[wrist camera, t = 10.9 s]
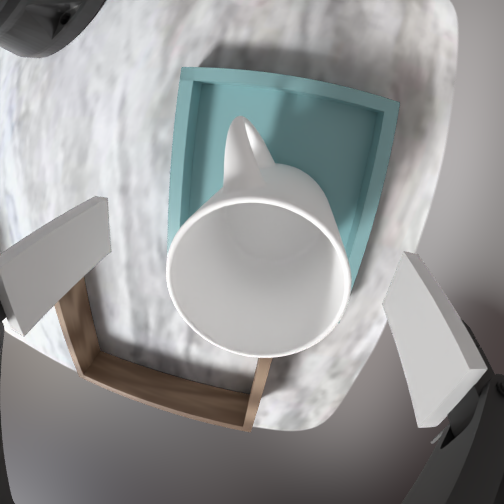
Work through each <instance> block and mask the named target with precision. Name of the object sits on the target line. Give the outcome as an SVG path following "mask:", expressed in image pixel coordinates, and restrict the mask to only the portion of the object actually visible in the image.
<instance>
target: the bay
mask: <svg viewBox="0 0 504 504" xmlns="http://www.w3.org/2000/svg"><path fill="white" fill-rule="evenodd" d="M54 306H55V309H56V313H57V316H58V319H59V322H60V326H61V329H62V332H63V335H64V338H65V341H66V344H67V346H68V349H69V352H70V355H71V357H72V360H73V362H74V365H75V368H76V370H77V373H78V375H79V377H81V378H83V379H85V380H87V381H89V382H91V383H94V384H96V385H98V386H100V387H103V388H105V389H107V390H110V391H112V392H115V393H117V394H120V395H122V396H125V397H127V398H130V399H133V400H135V401H138V402H141V403H144V404H146V405H149V406H152V407H155V408H158V409H162V410H164V411H167V412H171V413H174V414H177V415H181V416H184V417H187V418H191V419H195V420H199V421H202V422H206V423H210V424H214V425H219V426H223V427H227V428H232V429H237V430H242V431H247V432H251V429H252V426H253V423H254V420H255V416H256V413H257V410H258V407H259V403H260V400H261V396H262V393H263V390H264V386H265V383H266V379H267V376H268V372H269V369H270V365H271V362H272V358H258V363H257V367H256V371H255V375H254V380H253V384H252V388H251V392H250V394H245V393H240V392H236V391H231V390H226V389H222V388H218V387H214V386H210V385H206V384H202V383H198V382H194V381H190V380H187V379H183V378H179V377H176V376H173V375H169V374H166V373H163V372H159V371H156V370H153V369H150V368H147V367H144V366H141V365H138V364H135V363H132V362H129V361H127V360H124V359H121V358H118V357H116V356H113V355H110V354H108V353H105V352H103V351H101V350H100V346H99V342H98V339H97V335H96V331H95V327H94V322H93V318H92V314H91V309H90V305H89V300H88V295H87V289H86V284H85V278H84V277H83V278H82V279H81V280H80V281H78V282H77V283H76V284H75V285H74V286H73V287H72V288H71V289H70V290H69V291H68V292H67V293H66V294H65V295H64V296H63V297H62V298H61V299H60V300H59V301H58V302H57V303H56V304H55V305H54Z"/></svg>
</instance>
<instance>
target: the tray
mask: <svg viewBox="0 0 504 504" xmlns="http://www.w3.org/2000/svg"><path fill="white" fill-rule="evenodd" d="M399 106H400V102H397V101H394V100H391V99H388V98H385V97H381V96H378V95H375V94H371V93H368V92H364V91H360V90H357V89H353V88H349V87H345V86H340V85H336V84H332V83H327V82H322V81H318V80H312V79H307V78H302V77H296V76H290V75H283V74H276V73H268V72H260V71H250V70H240V69H226V68H205V67H182V68H181V75H180V82H179V90H178V97H177V105H176V114H175V123H174V133H173V144H172V157H171V170H170V187H169V208H168V246H167V255H168V252H169V248H170V245H171V243H172V241H173V239H174V237H175V235H176V233H177V232H178V230H179V229H180V227H181V226H182V225H183V224H184V223H185V222H186V221H187V220H188V218H189V217H191V216H192V215H193V214H194V213H195V212H196V211H197V210H198V209H199V208H200V207H201V206H202V205H203V204H205V203H206V202H207V201H208V200H209V199H210V198H211V197H212V196H213V195H214V194H215V193H217V192H218V191H219V190H220V189H221V188H222V187H223V178H224V157H225V146H226V139H227V134H228V130H229V127H230V125H231V123H232V121H233V120H234V119H235V118H236V117H237V116H243V117H245V118H247V119H248V120H249V121H250V122H251V123H252V124H253V125H254V127H255V128H256V129H257V131H258V132H259V134H260V135H261V137H262V139H263V140H264V142H265V144H266V146H267V148H268V150H269V152H270V154H271V156H272V158H273V160H274V162H275V163H279V164H285V165H289V166H292V167H295V168H297V169H300V170H302V171H303V172H305V173H306V174H308V175H309V176H310V177H311V178H313V179H314V180H315V181H316V182H317V184H318V185H319V186H320V187H321V189H322V190H323V192H324V194H325V196H326V198H327V200H328V202H329V205H330V207H331V210H332V213H333V216H334V219H335V222H336V224H337V227H338V230H339V233H340V236H341V239H342V242H343V245H344V248H345V251H346V255H347V258H348V261H349V265H350V269H351V278H352V283H351V290H352V287H353V285H354V282H355V279H356V276H357V273H358V270H359V267H360V264H361V261H362V258H363V255H364V252H365V249H366V245H367V242H368V239H369V235H370V232H371V229H372V225H373V222H374V218H375V215H376V211H377V207H378V204H379V200H380V196H381V192H382V188H383V184H384V180H385V176H386V172H387V167H388V163H389V159H390V154H391V149H392V144H393V139H394V134H395V129H396V124H397V118H398V112H399ZM339 322H340V321H339Z"/></svg>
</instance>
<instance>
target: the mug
mask: <svg viewBox="0 0 504 504" xmlns="http://www.w3.org/2000/svg"><path fill="white" fill-rule="evenodd" d="M166 279H167V285H168V289H169V293H170V296H171V299H172V301H173V303H174V305H175V307H176V309H177V310H178V312H179V314H180V315H181V316H182V318H183V319H184V320H185V322H186V323H187V324H188V325H189V326H190V327H191V328H192V329H193V330H194V331H195V332H196V333H198V334H199V335H200V336H201V337H203V338H204V339H206V340H207V341H209V342H210V343H212V344H214V345H216V346H218V347H219V348H222V349H224V350H227V351H229V352H232V353H236V354H239V355H244V356H249V357H258V358H273V357H282V356H287V355H291V354H294V353H298V352H301V351H303V350H305V349H307V348H310V347H311V346H313V345H315V344H316V343H318V342H319V341H321V340H322V339H323V338H325V337H326V336H327V335H328V334H329V333H330V332H331V331H332V330H333V329H334V328H335V327H336V325H337V324H338V323H339V321H340V320H341V318H342V316H343V314H344V312H345V310H346V308H347V305H348V302H349V298H350V294H351V283H352V278H351V269H350V265H349V261H348V258H347V255H346V251H345V248H344V245H343V242H342V239H341V236H340V233H339V230H338V227H337V224H336V222H335V219H334V216H333V213H332V210H331V207H330V205H329V202H328V200H327V198H326V196H325V194H324V192H323V190H322V189H321V187H320V186H319V185H318V184H317V182H316V181H315V180H314V179H313V178H311V177H310V176H309V175H308V174H306V173H305V172H303V171H302V170H300V169H297V168H295V167H292V166H289V165H285V164H279V163H275V162H274V160H273V158H272V156H271V154H270V152H269V150H268V148H267V146H266V144H265V142H264V140H263V139H262V137H261V135H260V134H259V132H258V131H257V129H256V128H255V127H254V125H253V124H252V123H251V122H250V121H249V120H248V119H247V118H245V117H243V116H237V117H236V118H235V119H234V120H233V121H232V123H231V125H230V127H229V130H228V134H227V139H226V146H225V157H224V178H223V187H222V188H221V189H220V190H219V191H218V192H217V193H215V194H214V195H213V196H212V197H211V198H210V199H209V200H208V201H207V202H206V203H205V204H203V205H202V206H201V207H200V208H199V209H198V210H197V211H196V212H195V213H194V214H193V215H192V216H191V217H189V218H188V220H187V221H186V222H185V223H184V224H183V225H182V226H181V227H180V229H179V230H178V232H177V233H176V235H175V237H174V239H173V241H172V243H171V245H170V248H169V252H168V255H167V262H166Z"/></svg>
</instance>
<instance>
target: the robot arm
mask: <svg viewBox="0 0 504 504" xmlns="http://www.w3.org/2000/svg"><path fill="white" fill-rule="evenodd" d="M104 1H105V0H0V47H2V48H4V49H6V50H8V51H10V52H12V53H14V54H16V55H18V56H21V57H30V58H42V57H47V56H49V55H52V54H54V53H56V52H58V51H59V50H61V49H62V48H64V47H65V46H66V45H68V44H69V43H70V42H71V41H72V40H73V39H74V38H75V37H77V36H78V35H79V34H80V32H81V31H82V30H83V29H84V28H85V27H86V26H87V25H88V23H89V22H90V21H91V20H92V18H93V17H94V16H95V14H96V13H97V12H98V10H99V9H100V7H101V5H102V4H103V2H104ZM110 252H111V241H110V229H109V214H108V198H104V197H97V196H95V197H93V198H91V199H89V200H87V201H85V202H83V203H82V204H80V205H78V206H76V207H74V208H73V209H71V210H69V211H67V212H66V213H64V214H62V215H60V216H59V217H57V218H55V219H54V220H52V221H50V222H49V223H47V224H45V225H44V226H42V227H41V228H39V229H37V230H36V231H34V232H33V233H31V234H30V235H28V236H26V237H25V238H23V239H22V240H20V241H19V242H17V243H16V244H14V245H13V246H11V247H10V248H9V249H7V250H6V251H4V252H3V253H1V254H0V377H1V358H2V347H3V337H4V325H3V323H2V321H3V320H4V319H5V318H6V317H7V320H8V322H9V324H10V327H11V329H12V330H13V331H15V332H17V333H18V334H20V335H22V336H23V337H24V336H25V335H26V334H27V333H28V332H29V331H30V330H31V329H32V328H33V327H34V326H35V325H36V323H37V322H38V321H39V320H40V319H41V318H42V317H43V316H44V315H45V314H46V313H47V312H48V311H49V310H50V309H51V308H52V307H53V306H54V305H55V304H56V303H57V302H58V301H59V300H60V299H61V298H62V297H63V296H64V295H65V294H66V293H67V292H68V291H69V290H70V289H71V288H72V287H73V286H74V285H75V284H76V283H77V282H78V281H80V280H81V279H82V278H83V277H84V276H85V275H86V274H87V273H88V272H89V271H90V270H91V269H92V268H94V267H95V266H96V265H97V264H98V263H99V262H100V261H101V260H102V259H103V258H105V257H106V256H107V255H108V254H109V253H110ZM382 305H383V308H384V311H385V313H386V316H387V319H388V322H389V325H390V328H391V331H392V334H393V337H394V340H395V343H396V347H397V349H398V353H399V356H400V359H401V363H402V366H403V370H404V373H405V377H406V380H407V384H408V387H409V391H410V395H411V399H412V403H413V407H414V411H415V416H416V420H417V425H418V428H423V427H434V426H437V425H438V424H439V423H440V422H441V421H442V420H443V419H444V418H445V417H446V416H447V415H448V419H449V422H450V424H449V425H448V426H447V427H446V428H445V429H444V430H442V431H441V432H440V433H439V434H438V435H437V436H436V437H435V438H434V439H433V440H432V441H431V443H432V444H433V443H434V442H435V441H437V440H438V439H439V441H438V443H437V445H436V447H435V449H434V451H433V452H432V454H431V456H430V458H429V460H428V462H427V463H426V465H425V467H424V468H423V470H422V472H421V474H420V475H419V477H418V479H417V480H416V482H415V484H414V485H413V487H412V488H411V490H410V491H409V493H408V494H407V496H406V497H405V499H404V500H403V502H402V503H401V504H504V375H502V374H496V375H495V374H494V372H493V370H492V368H491V366H490V364H489V362H488V360H487V358H486V356H485V354H484V352H483V350H482V348H480V345H479V343H478V342H477V340H476V339H475V336H474V334H473V332H472V331H471V329H470V327H469V326H468V325H467V324H466V323H465V322H464V321H463V320H462V319H461V318H460V317H459V315H458V314H457V312H456V311H455V309H454V307H453V306H452V304H451V302H450V301H449V299H448V298H447V296H446V295H445V293H444V291H443V290H442V288H441V287H440V285H439V284H438V282H437V281H436V280H435V278H434V277H433V275H432V273H431V272H430V271H429V269H428V268H427V266H426V265H425V263H424V262H423V261H422V259H421V258H420V257H419V255H418V254H414V253H409V252H405V251H403V254H402V256H401V259H400V262H399V264H398V267H397V269H396V272H395V274H394V277H393V279H392V282H391V284H390V287H389V289H388V291H387V294H386V296H385V298H384V301H383V303H382ZM1 431H2V430H1V413H0V504H15V503H14V501H13V499H12V496H11V492H10V487H9V482H8V477H7V471H6V465H5V459H4V452H3V443H2V432H1Z"/></svg>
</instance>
